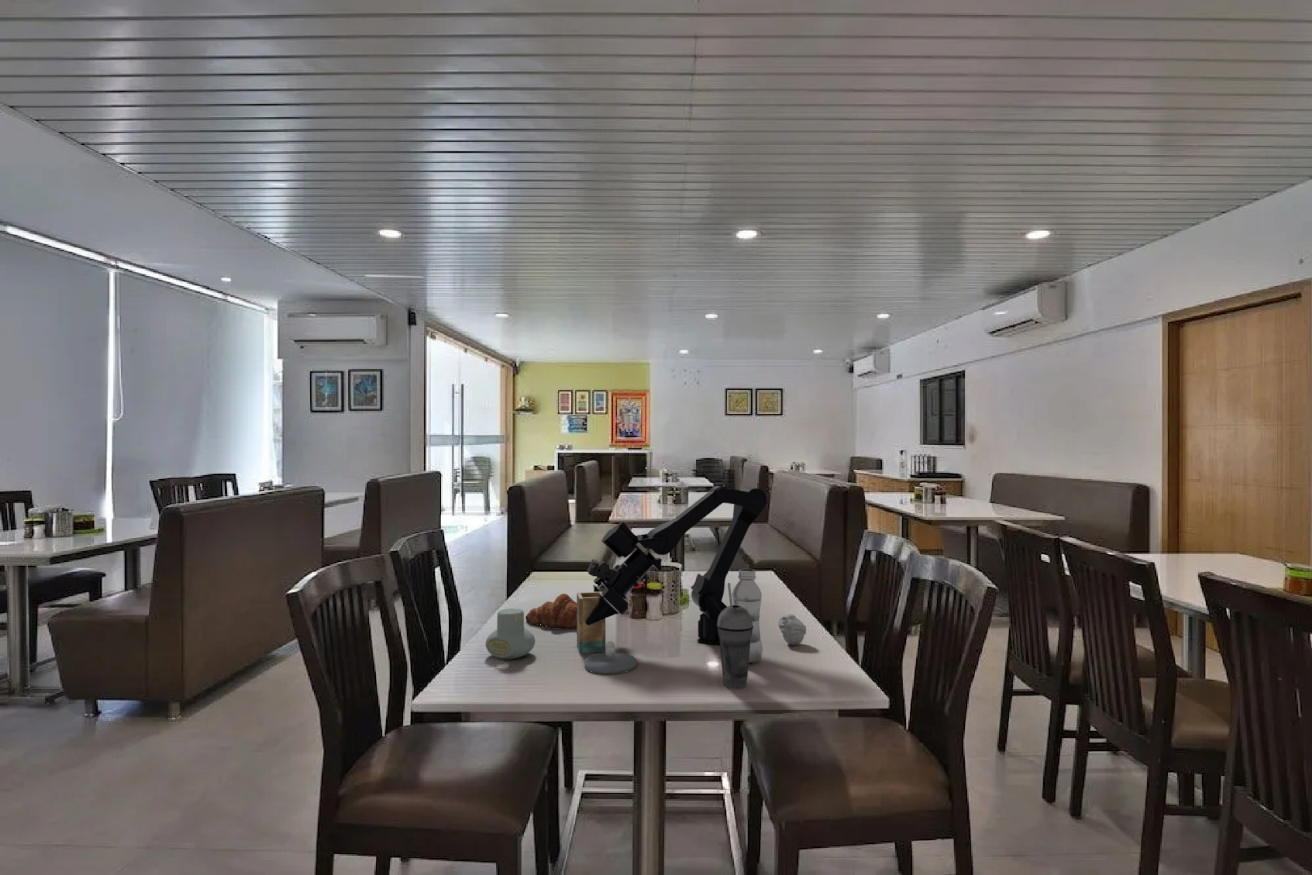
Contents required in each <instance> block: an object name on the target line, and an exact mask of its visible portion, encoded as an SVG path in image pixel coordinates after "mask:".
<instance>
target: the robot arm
mask: <svg viewBox="0 0 1312 875" xmlns="http://www.w3.org/2000/svg"><path fill="white" fill-rule="evenodd" d="M767 503H768V498H767V494H766V493H765V492H764V491H763V490H762V489H761V488H757V487H752V486H746V487H742V488H740V489H736V488H735V489H734V488H727V487H723V486H719V485H716V486H713V487H712V488H710V490H709V491H708V492H707V493H705V494H704V495H703V496H702V497H700V498H699V499H698V500H697V501H695V502H694V503H693V504H691V505H690V506H688V507H687V508H686V509H685V510H684V511H682V512H681V513H680V514H679V515H677V516H676V517H674V518H673V519H671V520H668V521H666V522H664V523H662V524H659V525H658V526H655V527H654V528H652V529H651V530H649V532H647V533H644V534H637V535H636V534H635V533H633V531H632V530H631V529H629V527H628V525H627V524H626V523H625V522H624V521H620V522H619V523H618V524H616V525H615V526H613V527H612V528H611V529H609V530H607V531H606V533H605V534H604V536H603V537H602V539H601V542H602V543H603V545H605V547H607V548H608V550H610V551H611V552H612V553H613V554H614V555H615V556H616V557H617V559H619V558H621V557H623V558H624V559H625V558H626V559H625V560H624V561H623V562H622V563H620V564H616V565H615V566H614V567H611V566H610V564H609V563H607V562H605V561H603V560H602V561H598V560H597V559H591V561H590V563H589V566H588V568H587V570H586V572H587V574H588V575H590V576H592V577H595V578H594V579H593V582H594V584H593V586H592V587H593V592H602V595H603V596H602V595H601V594H600V593H599V601H598V604H597V605H596V607H595V608H594V610H593V611H592V612H591V614H590V615H589V617H588V618H587V620H586V621H585V623H586V624H587V625H591V624H593V623H595V622H598V621H600V620H602V619H605V620H606V618H610V617H613V616H615V615H618V614H620V615H624V614H625V613H626V611H628V610H629V602H628V601H627V600H626V599H627V595H628V593H629V592H630V591H632V589H633V588H634V587H635V588H637V587H638V586H639V583H638V582H639V581H641V580H642V578H643V577H644V576H645V575H646V574H647V573H648V572H649V571H650V570H651V569H652V568H653V567H654V568H655V569H657V570H658V571H659V572H661V571H662V561H663V560H662V558H661V557H655V555H653V553H655V554H657V555H659V556H666V555H668V554H670V553H671V552H672V551H673V550H674V548H676V546H677V545H678V544H679V543H680V541H681V540H682V538H683V537H684V535H685V534H686V533H687V532H688V531H689V530H691V529H692V528H693V527H695V526H696V525H697V524H698V523H699V522H701V521H702V520H703V519H704V518H706V517H707V516H708V515H710V514H711V513H712V512H713V511H715V510H716V509H717V508H718V507H720V506H721V505H722V504H730V505H733V511H732V519H731V522H730V523H729V525H728V528H727V529H726V532H725V534H724V536H723V539H721V540H722V541H721V543H720V545H719V546H718V549H717V552H716V553H715V555H714V558H713V559H712V562H711V565H710V567H709V568H708V570H707V571H706V572H705V573H704V574H703V575H702V574H700V573H697V574H696V578H695V581H694V583H693V585H692V586H690V589H691V594H690V596H691V600H692V601H693V603H694V605H696V606H697V607H698V608H699V612H701V614H700V615H699V619H698V621H697V637H698V639H697V640H696V641H697V643H703V644H709V645H710V644H711V645H719V646H720V638H719V635H718V628H717V622H718V617H719V615H720V613H721V612H722V611H723V610H724V609H725V608H726V607H728V606H727V605H726V604H725V603H724V602H723V597H724V594H725V588H726V587H725V586H726V578H727V575H728V574H729V571H730V569H731V567H732V566H733V563H734V561H735V558H736V556H737V554H738V552H739V550H740V547H741V546H742V543H743V541H744V539H745V536H746V535H747V533H748V530H749V528H750V526H751V525H752V524H753V523H754V522H755V521H756V520H757V519H758V518H759V517H760V515H761V514H762V512H763V511H764V510H765V509H766V507H767ZM637 544H639V545H640V546H641V547H643V549H646V550H644V551H643V550H642V549H641V548H640V547H639V546H638V545H637ZM647 549H648V550H647ZM649 550H650V551H652V552H653V553H652V552H650V551H649Z"/></svg>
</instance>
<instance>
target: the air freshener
mask: <svg viewBox="0 0 1312 875" xmlns="http://www.w3.org/2000/svg"><path fill="white" fill-rule="evenodd" d="M496 614H497V616H496V617H497V618H496V619H497V620H496V630H494V631H492V632H491V633H490V634H488V637H486V639H485V648H486V650H487V652H488V653H489V654H490V655H491V656H494V657H496V658H498V659H500V660H503V661H504V660H505V661H507V660H508V661H509V660H513V659H519V658H523V657H524V656H526V655H527V654H529V653H530V652H531V651H532V650H533V649H534V647H535V644H536V638H535V635H534V634H533V633H532V632H531V631H530V630H528V629H527V628H525V615H524V614H525V611H524V610H523V609H520V608H504V609H500V610H499V611H497V613H496Z"/></svg>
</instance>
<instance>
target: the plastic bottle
mask: <svg viewBox="0 0 1312 875" xmlns="http://www.w3.org/2000/svg"><path fill="white" fill-rule="evenodd" d="M737 577H738V579H739V581H738V582H737V583H736V585H735V586H734V588H733V590H732V592H731V595H732V603H733V605H738V606H741V607H743V608H744V609H746V610H747V611H748V613H749V614H750V616H751V619H752V624H753V631H752V637H751V641H750V654H749V664H750V663H751V664H752V663H753V664H754V663H758V662H760V660H761V659H762V656H763V642H762V640H761V631H760V617H761V616H760V615H761V614H760V612H761V604H762V595H763V594H762V591H761V589H760V587H759V585H758V584H757V583H756V579H757V577H756V569H754V568H740V569H739V570H738V576H737Z"/></svg>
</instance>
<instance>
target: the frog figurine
mask: <svg viewBox="0 0 1312 875" xmlns="http://www.w3.org/2000/svg"><path fill="white" fill-rule="evenodd" d="M777 624H778V628H779V630H780V632H781V634H782V637H783V639H784V641H785V642H786V643H787V644H788V645H791V646H797V645H799V644H801V643H802V642H803V641H804V638H805V635H807V628H806V627H807V626H806V625H805V623H803V622H802V621H801V619H799V618H798V617H796V615H794V614H791V613H788V614H784V615H783V616H781V617H779V619H778V623H777Z"/></svg>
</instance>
